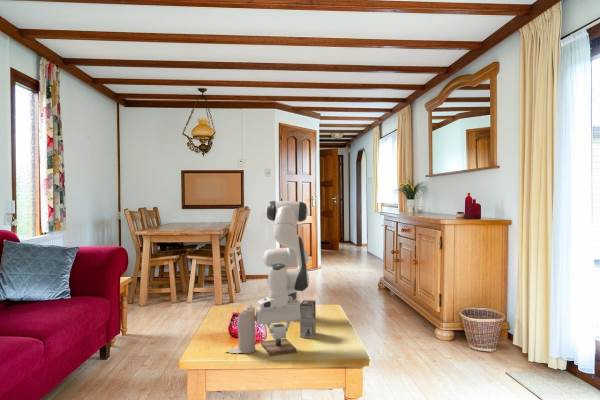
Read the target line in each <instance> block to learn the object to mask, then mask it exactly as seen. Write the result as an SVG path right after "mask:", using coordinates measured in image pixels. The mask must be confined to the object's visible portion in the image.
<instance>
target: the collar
mask: <svg viewBox="0 0 600 400" xmlns="http://www.w3.org/2000/svg"><path fill="white" fill-rule="evenodd" d="M270 328H272V329H273V333H270V336H271V338H273V340H276V339H287V332H286V324H284V322H280V323H271V326H270Z"/></svg>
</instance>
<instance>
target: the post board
mask: <svg viewBox="0 0 600 400" xmlns="http://www.w3.org/2000/svg"><path fill="white" fill-rule="evenodd" d="M260 345H261V347H262V348H263V350H265V352H266V353H267V354H268V355H269V357H272V356H279V355H287V354H294V353H297V351H298V350H297V348H296V347H295V346H294V345H293V344H292V342H291V341H289V340H288V338H282V339H281V346H276V339H270V340H262V341H260Z"/></svg>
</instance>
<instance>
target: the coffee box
mask: <svg viewBox="0 0 600 400" xmlns="http://www.w3.org/2000/svg"><path fill="white" fill-rule="evenodd" d="M316 314H317V313H316V300H310V299H309V300H308V299H307V300H306V299H305V300H302V301H301V302H300V315H301V318H300V320H299V337H300V338H304V339H313V338H314V336H315V335H316V332H317V330H316V329H317V323H316V322H317V320H316V319H317V317H316V316H317V315H316Z"/></svg>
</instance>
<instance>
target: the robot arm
mask: <svg viewBox="0 0 600 400" xmlns="http://www.w3.org/2000/svg"><path fill="white" fill-rule="evenodd" d="M265 215H266V218H267V219H268V220H269V221H272V222H273V237H274V240H275V241H276V242H277V243H278V244H279V245H281V246H282V247H277V248H270V249H267V250H265V251H264V253H263V256H262V260H263V263H264V265H265V266H266V267H267V268H268V275H267V285H268V293H267V295H268V296H266V297H264V298H262V299H259V300H258V301H257V305H258V306H257V308H256V309H255V324H257V325H259V326H260V325H266V326H267V328H268V333H269V334H271V333H273V329H272V328H271V325H272V324H280V323H286V324H285V326H286V333H287V332H289V327H290V325H291V322H297V321H300V318H301V315H300V304H301V302H300V300H298V299H297V298H298V292H303V291H305V290H306V289H307V288H308V287H309V284H310V276H309V273H308V268H307V264H308V262H309V259H310V255H309V253H308V251H307V249H305V247H304V243H303V239H302V237H300V236H299V235H298V222H299V223H300V222H301V223H302V222H304V221H306V220H307V217H308V216H309V209H308V206H307V204H306V203H305V202H302V201H294V200H278V201H276V200H272V201H269V202H268V203H267V205H266V207H265Z"/></svg>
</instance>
